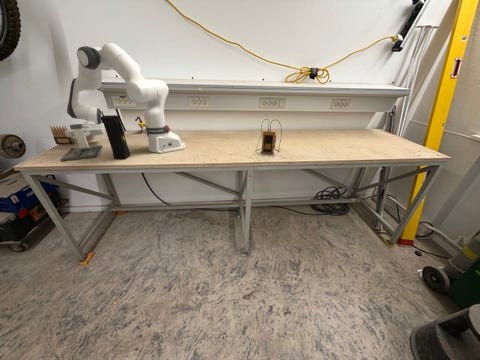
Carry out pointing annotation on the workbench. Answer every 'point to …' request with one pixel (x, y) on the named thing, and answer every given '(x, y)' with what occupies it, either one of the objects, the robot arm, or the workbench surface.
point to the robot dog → (141, 123)
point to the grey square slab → (81, 153)
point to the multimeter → (268, 140)
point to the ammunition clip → (61, 136)
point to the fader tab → (80, 136)
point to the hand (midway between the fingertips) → (82, 135)
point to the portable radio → (116, 136)
